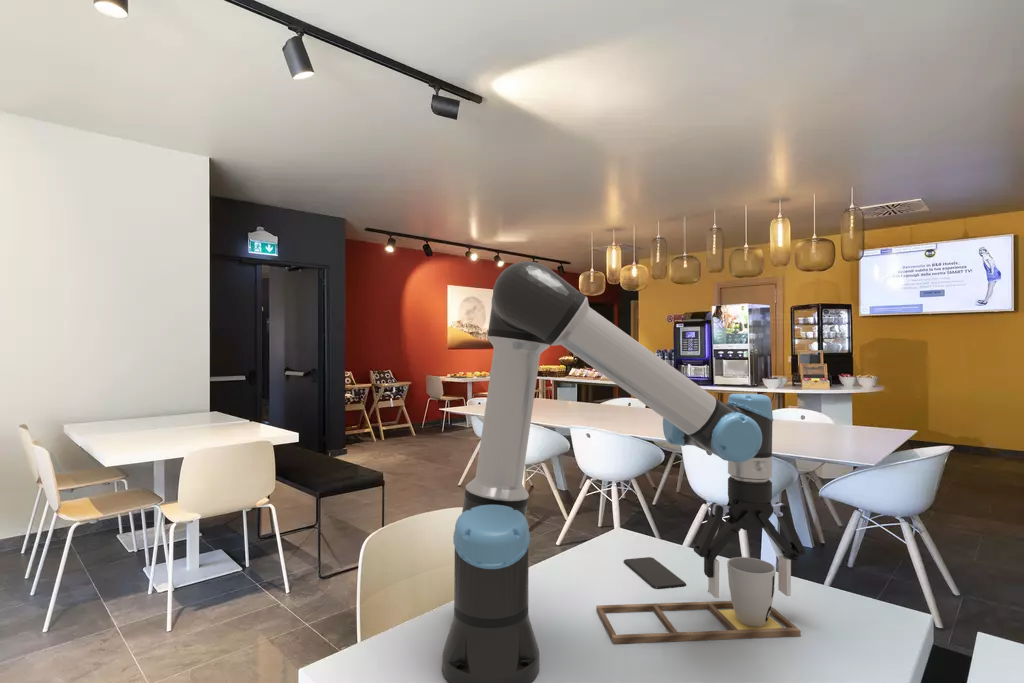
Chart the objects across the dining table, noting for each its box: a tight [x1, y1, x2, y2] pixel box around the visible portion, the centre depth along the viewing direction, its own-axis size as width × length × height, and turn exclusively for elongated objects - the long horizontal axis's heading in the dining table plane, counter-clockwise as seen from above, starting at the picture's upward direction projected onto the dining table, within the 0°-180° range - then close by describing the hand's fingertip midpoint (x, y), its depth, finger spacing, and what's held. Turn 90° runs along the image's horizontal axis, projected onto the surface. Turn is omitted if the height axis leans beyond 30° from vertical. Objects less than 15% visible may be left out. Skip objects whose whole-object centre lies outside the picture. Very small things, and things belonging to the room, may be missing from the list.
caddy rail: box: [595, 600, 802, 645], centre depth 100 cm, size 33×12×1 cm, turn 95°
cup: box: [727, 556, 776, 627], centre depth 101 cm, size 8×8×10 cm
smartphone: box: [623, 556, 687, 590], centre depth 123 cm, size 8×1×16 cm
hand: (749, 594), depth 101 cm, fingers open, 13 cm apart
